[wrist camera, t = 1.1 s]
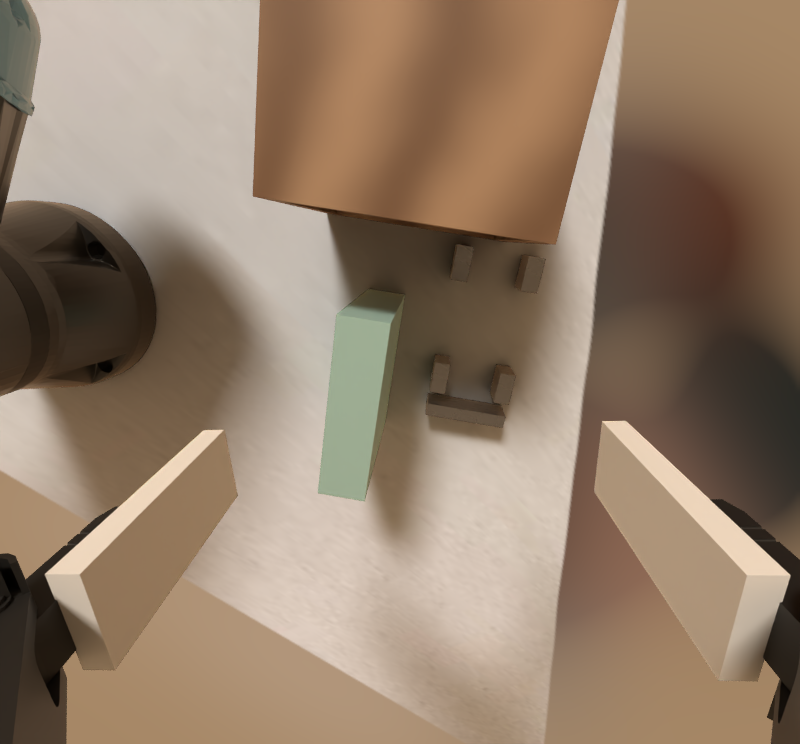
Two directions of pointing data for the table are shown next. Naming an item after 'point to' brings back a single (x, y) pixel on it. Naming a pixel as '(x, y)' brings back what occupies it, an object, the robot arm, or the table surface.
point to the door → (359, 391)
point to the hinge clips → (503, 374)
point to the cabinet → (428, 109)
